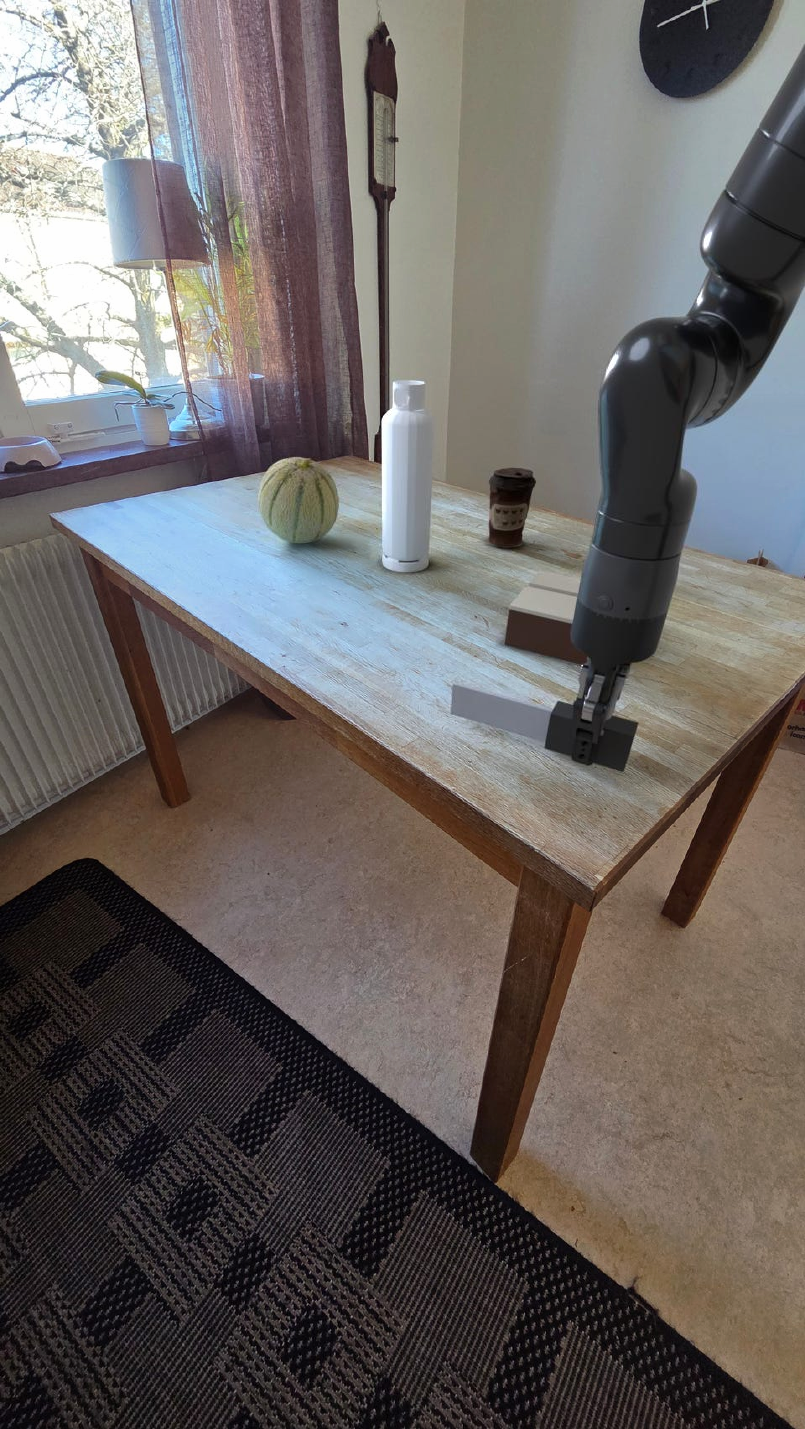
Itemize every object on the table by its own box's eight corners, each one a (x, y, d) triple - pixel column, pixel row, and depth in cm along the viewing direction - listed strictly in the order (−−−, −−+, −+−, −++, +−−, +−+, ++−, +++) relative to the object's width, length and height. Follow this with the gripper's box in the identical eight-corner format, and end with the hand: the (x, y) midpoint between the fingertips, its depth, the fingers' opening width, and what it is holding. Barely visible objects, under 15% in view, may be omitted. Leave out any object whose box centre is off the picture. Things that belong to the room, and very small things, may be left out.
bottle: (437, 561, 106) (446, 382, 90) (410, 576, 101) (415, 388, 84) (400, 551, 110) (403, 377, 93) (373, 564, 105) (370, 382, 88)
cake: (603, 643, 84) (612, 604, 80) (591, 667, 79) (600, 626, 75) (520, 623, 88) (526, 585, 84) (504, 644, 83) (509, 605, 79)
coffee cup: (530, 552, 111) (541, 479, 103) (485, 551, 111) (492, 478, 103) (523, 535, 118) (533, 465, 110) (481, 534, 118) (487, 464, 110)
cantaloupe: (277, 524, 120) (268, 444, 111) (348, 529, 119) (345, 448, 110) (250, 552, 108) (238, 464, 100) (329, 558, 107) (324, 469, 98)
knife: (628, 757, 61) (638, 722, 58) (623, 772, 59) (633, 736, 56) (455, 706, 68) (458, 673, 65) (446, 718, 66) (448, 684, 63)
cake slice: (612, 625, 88) (622, 587, 85) (604, 640, 85) (614, 600, 81) (533, 607, 92) (539, 570, 89) (523, 620, 89) (528, 582, 85)
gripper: (656, 641, 45) (608, 808, 55) (680, 575, 55) (636, 726, 65) (557, 619, 48) (529, 781, 58) (597, 561, 58) (567, 708, 68)
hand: (586, 752), depth 61 cm, fingers closed on knife, 2 cm apart
